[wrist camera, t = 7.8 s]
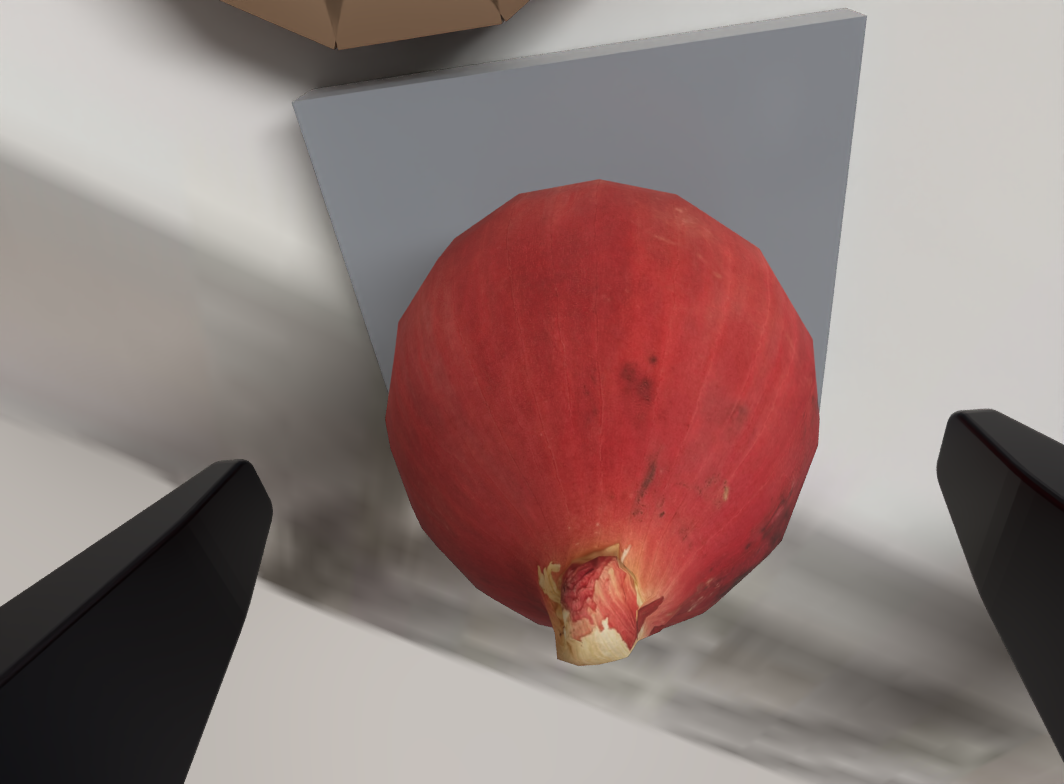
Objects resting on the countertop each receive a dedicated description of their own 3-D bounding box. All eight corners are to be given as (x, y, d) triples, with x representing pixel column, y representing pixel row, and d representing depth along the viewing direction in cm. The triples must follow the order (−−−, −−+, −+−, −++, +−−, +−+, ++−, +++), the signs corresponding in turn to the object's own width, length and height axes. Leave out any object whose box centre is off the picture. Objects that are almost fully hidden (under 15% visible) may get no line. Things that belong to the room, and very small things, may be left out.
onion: (815, 256, 12) (1134, 619, 5) (620, 463, 15) (665, 880, 8) (547, 56, 11) (510, 208, 4) (383, 328, 13) (190, 701, 6)
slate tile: (846, 8, 11) (867, 15, 10) (804, 410, 15) (816, 438, 14) (312, 89, 12) (291, 101, 11) (420, 436, 16) (411, 463, 16)
